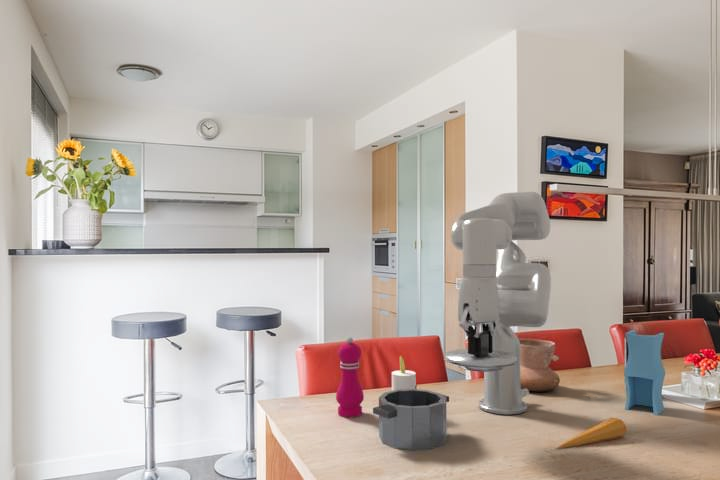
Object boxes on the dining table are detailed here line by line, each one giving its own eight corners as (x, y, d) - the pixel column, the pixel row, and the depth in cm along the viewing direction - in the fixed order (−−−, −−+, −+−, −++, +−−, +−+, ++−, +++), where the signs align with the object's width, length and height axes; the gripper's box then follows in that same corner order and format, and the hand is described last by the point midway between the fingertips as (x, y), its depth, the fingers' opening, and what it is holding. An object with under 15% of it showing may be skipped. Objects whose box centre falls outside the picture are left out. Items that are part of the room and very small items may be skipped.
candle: (415, 417, 135) (415, 358, 135) (390, 416, 137) (389, 357, 137) (418, 410, 141) (417, 353, 142) (393, 408, 143) (393, 352, 143)
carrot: (618, 436, 123) (610, 416, 124) (633, 435, 119) (624, 414, 121) (552, 460, 115) (544, 438, 116) (566, 459, 111) (558, 436, 113)
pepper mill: (360, 418, 135) (360, 339, 135) (333, 417, 136) (332, 339, 136) (366, 410, 142) (365, 335, 142) (339, 408, 143) (339, 334, 143)
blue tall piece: (665, 408, 141) (664, 332, 142) (657, 415, 136) (656, 336, 136) (633, 402, 147) (632, 330, 147) (624, 409, 141) (623, 333, 141)
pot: (419, 420, 133) (418, 384, 133) (465, 436, 122) (465, 396, 122) (359, 438, 121) (358, 398, 121) (404, 458, 109) (404, 414, 109)
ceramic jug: (573, 391, 159) (573, 343, 159) (540, 398, 151) (540, 348, 151) (526, 378, 174) (526, 335, 174) (494, 384, 167) (493, 339, 167)
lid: (471, 356, 132) (471, 326, 132) (530, 366, 121) (530, 333, 121) (430, 366, 121) (430, 333, 121) (491, 378, 110) (491, 342, 110)
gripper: (487, 271, 130) (488, 346, 129) (443, 273, 119) (443, 355, 118) (514, 272, 124) (515, 351, 124) (470, 274, 113) (471, 361, 113)
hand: (480, 352), depth 121 cm, fingers closed on lid, 3 cm apart
